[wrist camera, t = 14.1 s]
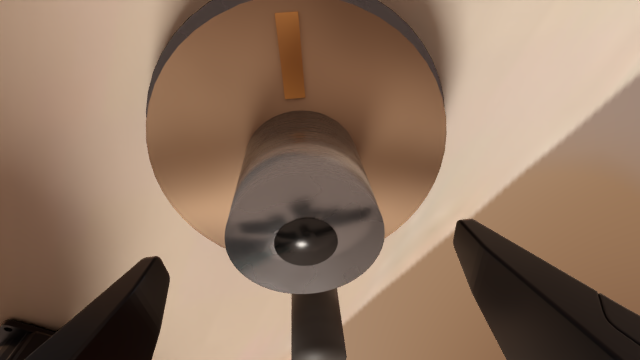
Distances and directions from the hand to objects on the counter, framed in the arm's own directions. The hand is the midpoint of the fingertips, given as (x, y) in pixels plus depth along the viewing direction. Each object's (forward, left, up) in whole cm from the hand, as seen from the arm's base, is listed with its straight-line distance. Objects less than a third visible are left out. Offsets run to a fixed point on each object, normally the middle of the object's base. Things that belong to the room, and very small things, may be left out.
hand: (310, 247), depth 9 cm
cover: (0, 0, -5) cm, 5 cm away
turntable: (-1, -1, -7) cm, 7 cm away
